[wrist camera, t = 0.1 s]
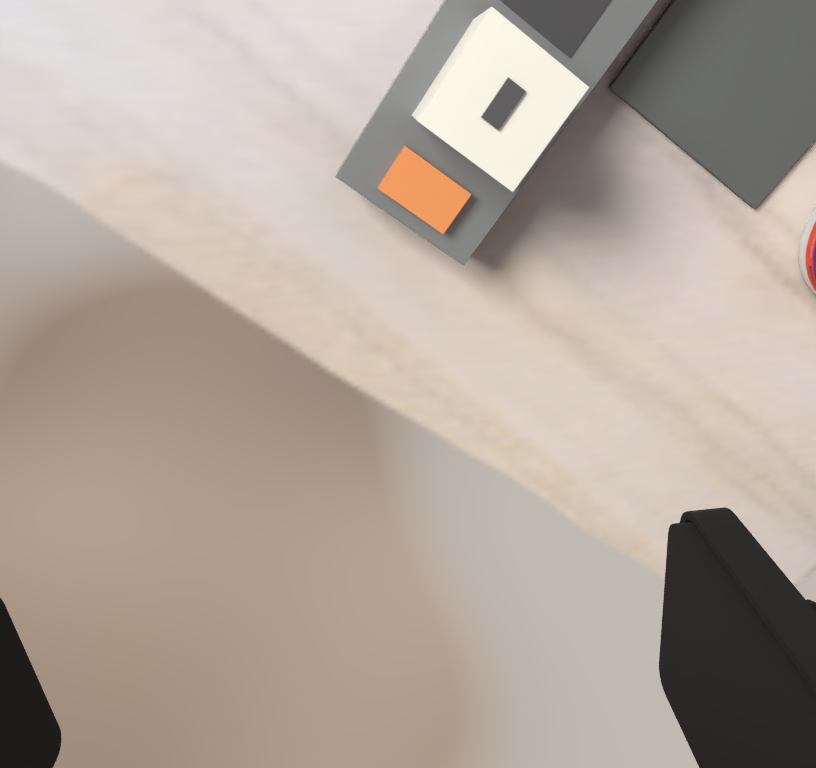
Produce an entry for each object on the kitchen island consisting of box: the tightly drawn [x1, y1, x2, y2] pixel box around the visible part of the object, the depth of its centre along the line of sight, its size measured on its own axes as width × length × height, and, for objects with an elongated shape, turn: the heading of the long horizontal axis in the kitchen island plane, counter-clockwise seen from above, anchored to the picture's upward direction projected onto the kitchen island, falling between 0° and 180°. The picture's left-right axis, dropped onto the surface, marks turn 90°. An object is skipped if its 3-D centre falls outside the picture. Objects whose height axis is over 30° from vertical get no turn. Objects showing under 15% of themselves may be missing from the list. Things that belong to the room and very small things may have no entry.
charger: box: [412, 7, 589, 192], centre depth 30 cm, size 5×5×6 cm
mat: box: [609, 0, 816, 208], centre depth 35 cm, size 11×11×1 cm
